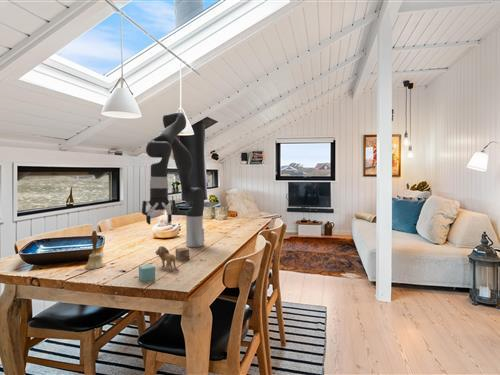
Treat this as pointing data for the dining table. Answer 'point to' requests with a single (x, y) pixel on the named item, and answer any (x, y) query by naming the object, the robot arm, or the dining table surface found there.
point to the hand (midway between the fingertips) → (159, 223)
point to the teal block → (146, 272)
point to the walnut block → (182, 254)
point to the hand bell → (94, 255)
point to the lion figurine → (166, 257)
